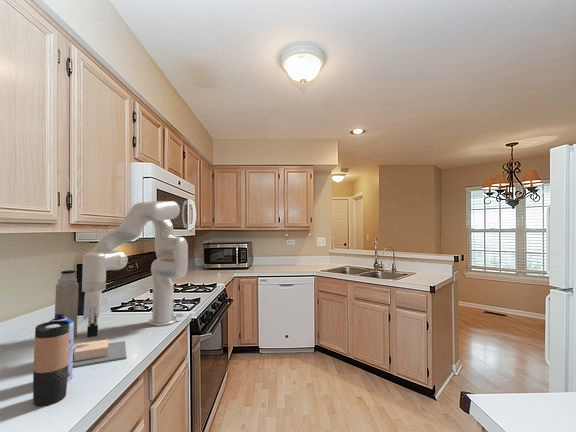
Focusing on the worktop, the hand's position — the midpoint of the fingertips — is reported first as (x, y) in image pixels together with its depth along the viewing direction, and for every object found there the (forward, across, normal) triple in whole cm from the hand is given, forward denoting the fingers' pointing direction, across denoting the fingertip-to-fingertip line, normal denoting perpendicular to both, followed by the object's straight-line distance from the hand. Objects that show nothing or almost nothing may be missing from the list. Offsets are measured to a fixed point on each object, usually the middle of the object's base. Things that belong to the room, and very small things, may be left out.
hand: (92, 336), depth 116 cm
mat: (+7, +1, 0) cm, 7 cm away
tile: (+4, -3, 0) cm, 5 cm away
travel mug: (+7, +30, -8) cm, 32 cm away
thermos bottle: (+7, -27, -11) cm, 30 cm away
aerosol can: (+7, +18, -8) cm, 21 cm away
